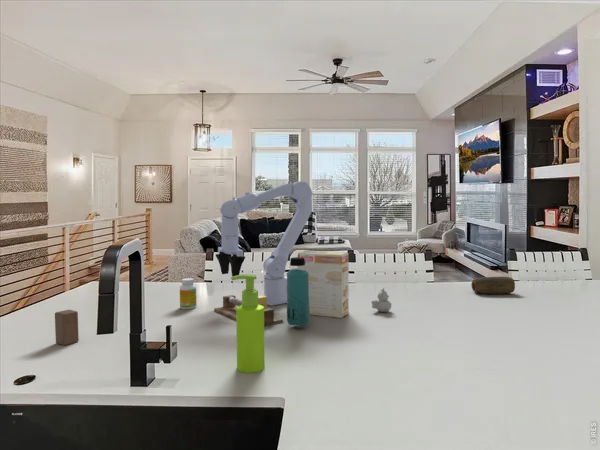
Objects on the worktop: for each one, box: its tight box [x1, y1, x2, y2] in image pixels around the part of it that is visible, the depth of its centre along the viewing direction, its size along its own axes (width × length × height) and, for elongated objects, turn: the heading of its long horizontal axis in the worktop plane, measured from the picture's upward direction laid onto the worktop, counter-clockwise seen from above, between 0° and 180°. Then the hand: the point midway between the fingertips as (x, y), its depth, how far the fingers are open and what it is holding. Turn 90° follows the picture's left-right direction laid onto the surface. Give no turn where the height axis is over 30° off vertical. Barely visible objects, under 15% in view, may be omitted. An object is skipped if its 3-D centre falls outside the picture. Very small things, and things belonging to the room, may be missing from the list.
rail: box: [213, 294, 284, 327], centre depth 135 cm, size 25×10×4 cm, turn 37°
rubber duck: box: [371, 287, 392, 313], centre depth 140 cm, size 5×7×8 cm
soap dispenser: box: [230, 274, 266, 374], centre depth 92 cm, size 6×7×20 cm
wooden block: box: [54, 309, 80, 346], centre depth 110 cm, size 4×4×8 cm
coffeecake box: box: [297, 250, 350, 319], centre depth 138 cm, size 15×7×20 cm, turn 65°
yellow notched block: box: [258, 294, 268, 309], centre depth 130 cm, size 3×6×6 cm, turn 127°
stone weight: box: [471, 276, 516, 295], centre depth 166 cm, size 15×7×7 cm, turn 92°
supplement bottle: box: [179, 277, 197, 310], centre depth 146 cm, size 5×5×10 cm
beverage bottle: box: [286, 256, 310, 327], centre depth 122 cm, size 6×7×20 cm
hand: (230, 275), depth 149 cm, fingers open, 7 cm apart
